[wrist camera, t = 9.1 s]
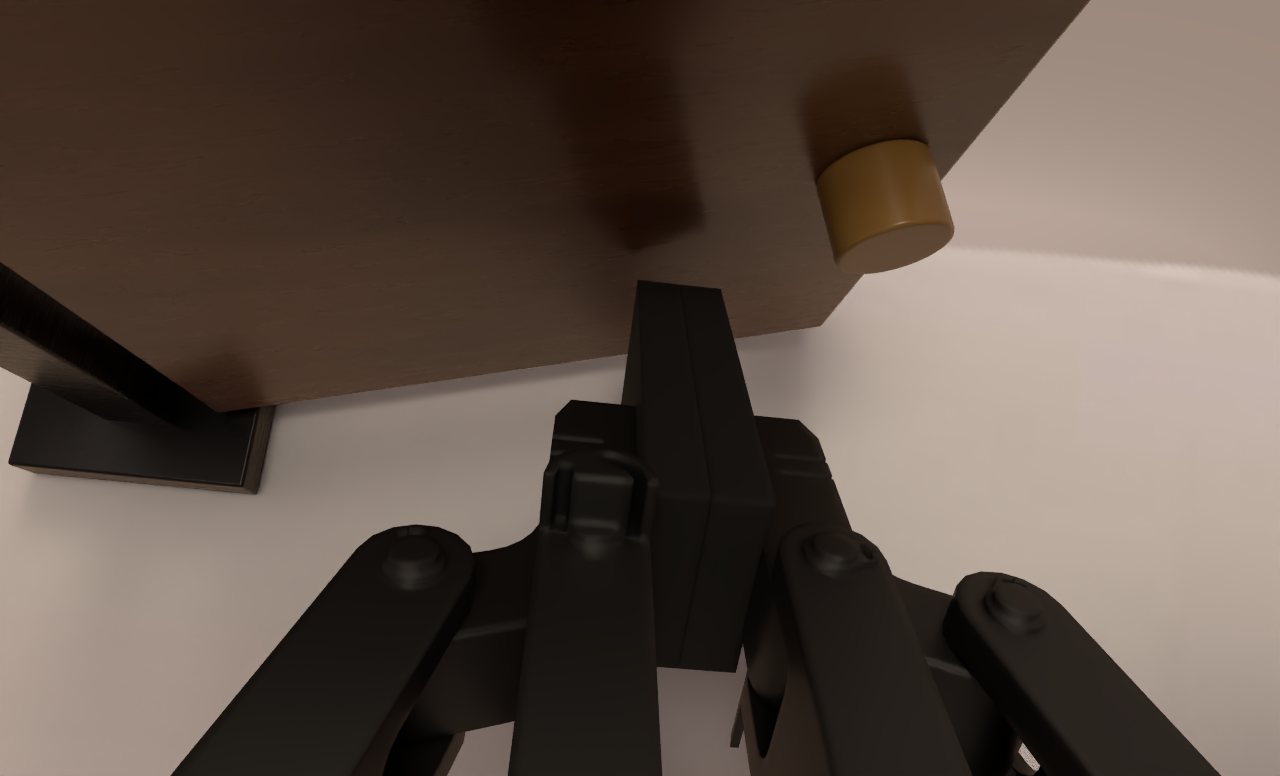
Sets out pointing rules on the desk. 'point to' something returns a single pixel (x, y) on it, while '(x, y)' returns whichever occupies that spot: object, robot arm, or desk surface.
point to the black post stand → (115, 407)
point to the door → (476, 170)
